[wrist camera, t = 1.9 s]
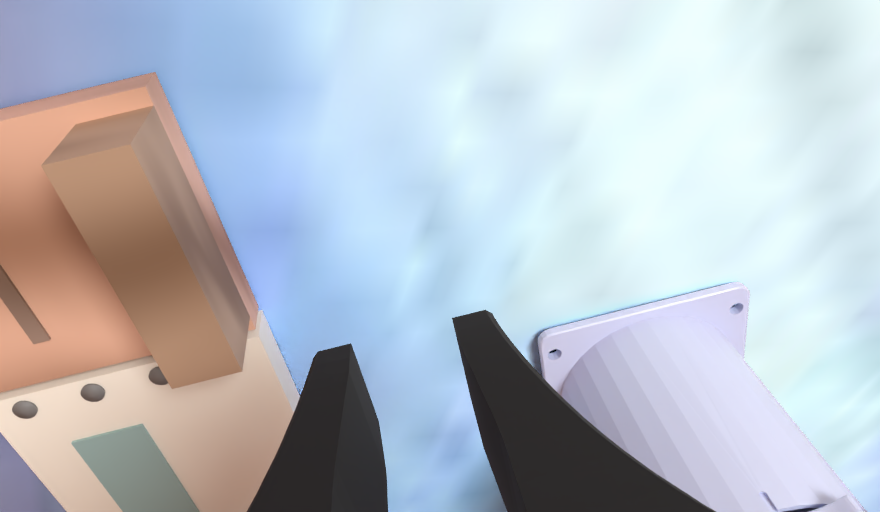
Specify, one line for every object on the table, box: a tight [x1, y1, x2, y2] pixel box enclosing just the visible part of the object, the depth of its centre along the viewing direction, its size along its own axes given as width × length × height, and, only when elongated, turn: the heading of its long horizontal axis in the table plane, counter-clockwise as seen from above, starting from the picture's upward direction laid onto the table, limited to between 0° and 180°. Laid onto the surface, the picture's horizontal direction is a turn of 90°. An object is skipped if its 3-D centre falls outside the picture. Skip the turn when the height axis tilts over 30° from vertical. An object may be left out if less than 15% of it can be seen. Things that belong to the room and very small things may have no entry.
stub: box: [0, 72, 258, 393], centre depth 18 cm, size 8×9×4 cm
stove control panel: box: [0, 310, 300, 512], centre depth 24 cm, size 12×9×3 cm
